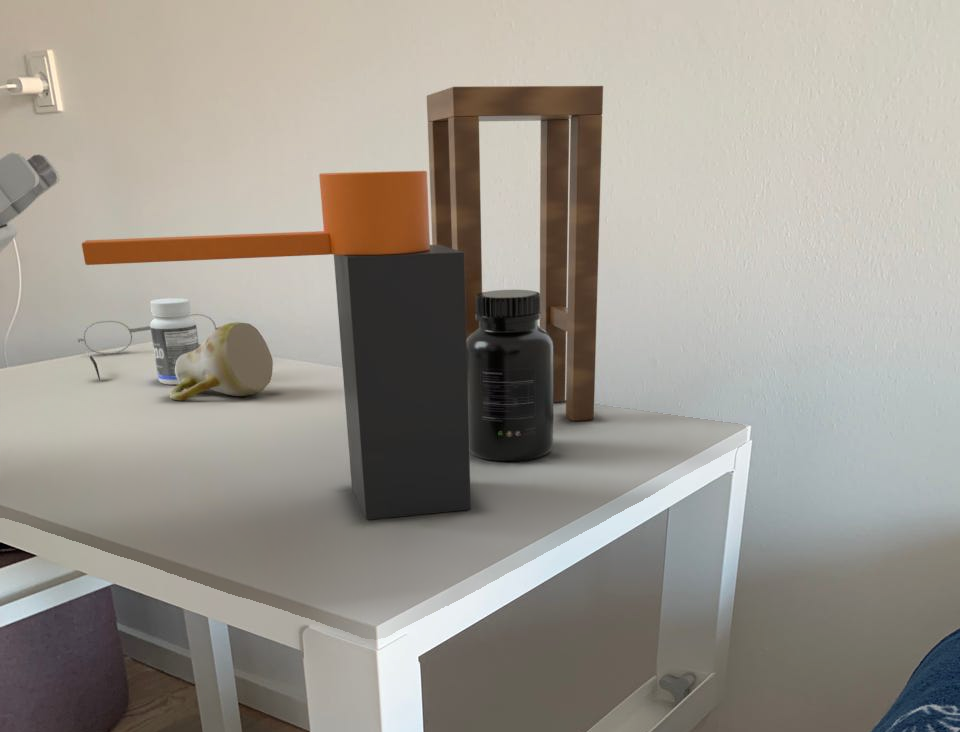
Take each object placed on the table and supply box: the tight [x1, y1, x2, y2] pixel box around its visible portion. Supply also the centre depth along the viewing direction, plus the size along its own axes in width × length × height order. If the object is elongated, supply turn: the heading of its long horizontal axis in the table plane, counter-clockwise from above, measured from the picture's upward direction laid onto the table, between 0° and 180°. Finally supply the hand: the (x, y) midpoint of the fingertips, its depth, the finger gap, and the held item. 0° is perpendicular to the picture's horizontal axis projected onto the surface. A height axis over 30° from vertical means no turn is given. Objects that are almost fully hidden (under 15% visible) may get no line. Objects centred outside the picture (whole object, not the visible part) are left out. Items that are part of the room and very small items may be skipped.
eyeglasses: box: [76, 313, 220, 381], centre depth 120 cm, size 18×19×4 cm
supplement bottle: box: [466, 289, 554, 462], centre depth 77 cm, size 7×7×12 cm
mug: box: [169, 321, 274, 401], centre depth 101 cm, size 8×10×10 cm
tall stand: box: [426, 85, 604, 422], centre depth 86 cm, size 12×10×26 cm
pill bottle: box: [149, 297, 200, 385], centre depth 107 cm, size 5×5×8 cm
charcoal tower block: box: [333, 244, 472, 521], centre depth 65 cm, size 7×7×16 cm
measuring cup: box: [81, 170, 431, 266], centre depth 59 cm, size 20×6×4 cm, turn 104°
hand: (41, 165), depth 56 cm, fingers open, 8 cm apart
